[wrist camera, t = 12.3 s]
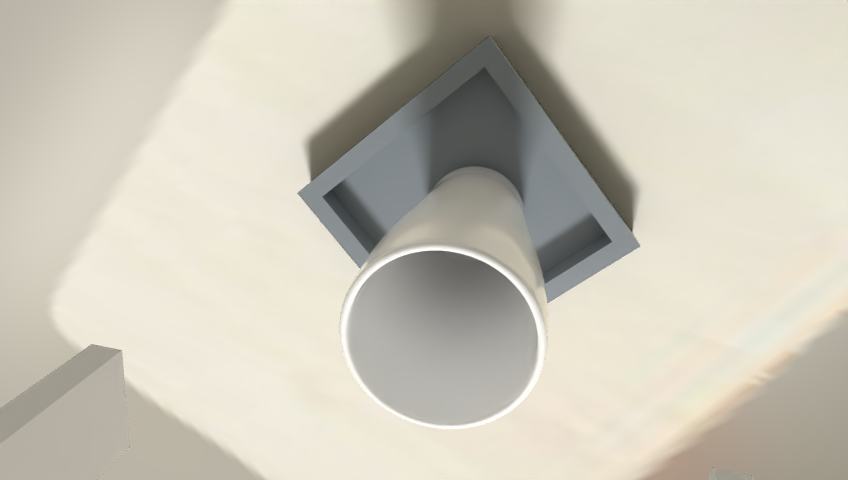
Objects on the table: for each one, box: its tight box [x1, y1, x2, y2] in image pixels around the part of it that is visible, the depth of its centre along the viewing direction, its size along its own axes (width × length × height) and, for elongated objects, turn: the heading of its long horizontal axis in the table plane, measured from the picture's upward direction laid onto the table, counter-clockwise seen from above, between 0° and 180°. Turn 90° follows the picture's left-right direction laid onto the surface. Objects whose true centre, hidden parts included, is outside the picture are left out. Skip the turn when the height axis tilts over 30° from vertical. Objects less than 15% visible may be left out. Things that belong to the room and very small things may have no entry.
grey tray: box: [298, 36, 640, 303], centre depth 32 cm, size 13×13×2 cm
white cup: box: [340, 166, 548, 429], centre depth 25 cm, size 7×7×15 cm
